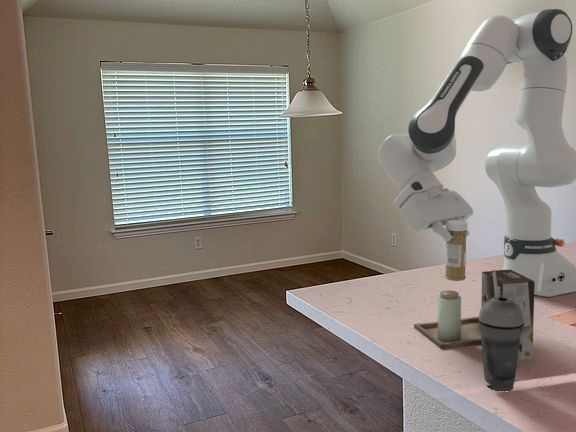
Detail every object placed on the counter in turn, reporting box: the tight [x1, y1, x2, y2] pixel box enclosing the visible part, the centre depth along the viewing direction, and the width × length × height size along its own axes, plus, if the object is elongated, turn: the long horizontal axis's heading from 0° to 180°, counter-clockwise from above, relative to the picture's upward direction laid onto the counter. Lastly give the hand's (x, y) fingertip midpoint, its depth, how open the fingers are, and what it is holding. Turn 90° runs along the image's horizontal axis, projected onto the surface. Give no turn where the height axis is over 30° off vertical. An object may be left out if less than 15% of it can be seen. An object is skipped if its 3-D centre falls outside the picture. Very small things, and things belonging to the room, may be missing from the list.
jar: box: [437, 290, 462, 342], centre depth 107 cm, size 5×5×10 cm
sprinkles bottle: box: [444, 220, 468, 282], centre depth 118 cm, size 5×5×13 cm
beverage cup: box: [477, 270, 524, 393], centre depth 88 cm, size 7×7×20 cm
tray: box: [413, 316, 481, 350], centre depth 111 cm, size 16×12×2 cm
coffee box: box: [480, 269, 535, 363], centre depth 100 cm, size 9×6×16 cm
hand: (458, 238), depth 117 cm, fingers closed on sprinkles bottle, 4 cm apart
